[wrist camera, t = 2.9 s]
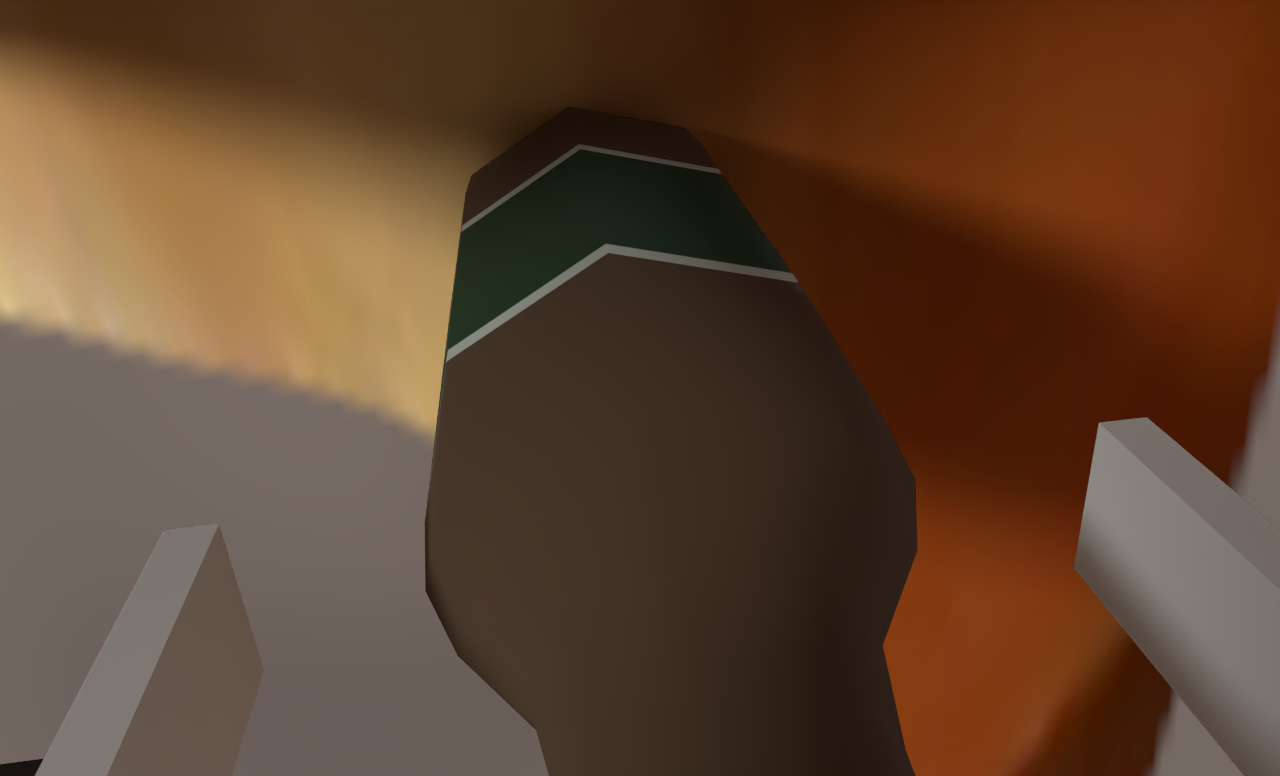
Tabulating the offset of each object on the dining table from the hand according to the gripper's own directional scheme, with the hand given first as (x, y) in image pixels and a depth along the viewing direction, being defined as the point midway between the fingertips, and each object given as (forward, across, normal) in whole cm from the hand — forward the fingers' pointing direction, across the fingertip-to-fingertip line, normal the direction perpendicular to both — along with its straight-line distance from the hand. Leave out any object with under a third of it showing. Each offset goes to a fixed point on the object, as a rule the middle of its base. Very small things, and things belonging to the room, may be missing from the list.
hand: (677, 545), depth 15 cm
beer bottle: (+13, 0, 0) cm, 13 cm away
